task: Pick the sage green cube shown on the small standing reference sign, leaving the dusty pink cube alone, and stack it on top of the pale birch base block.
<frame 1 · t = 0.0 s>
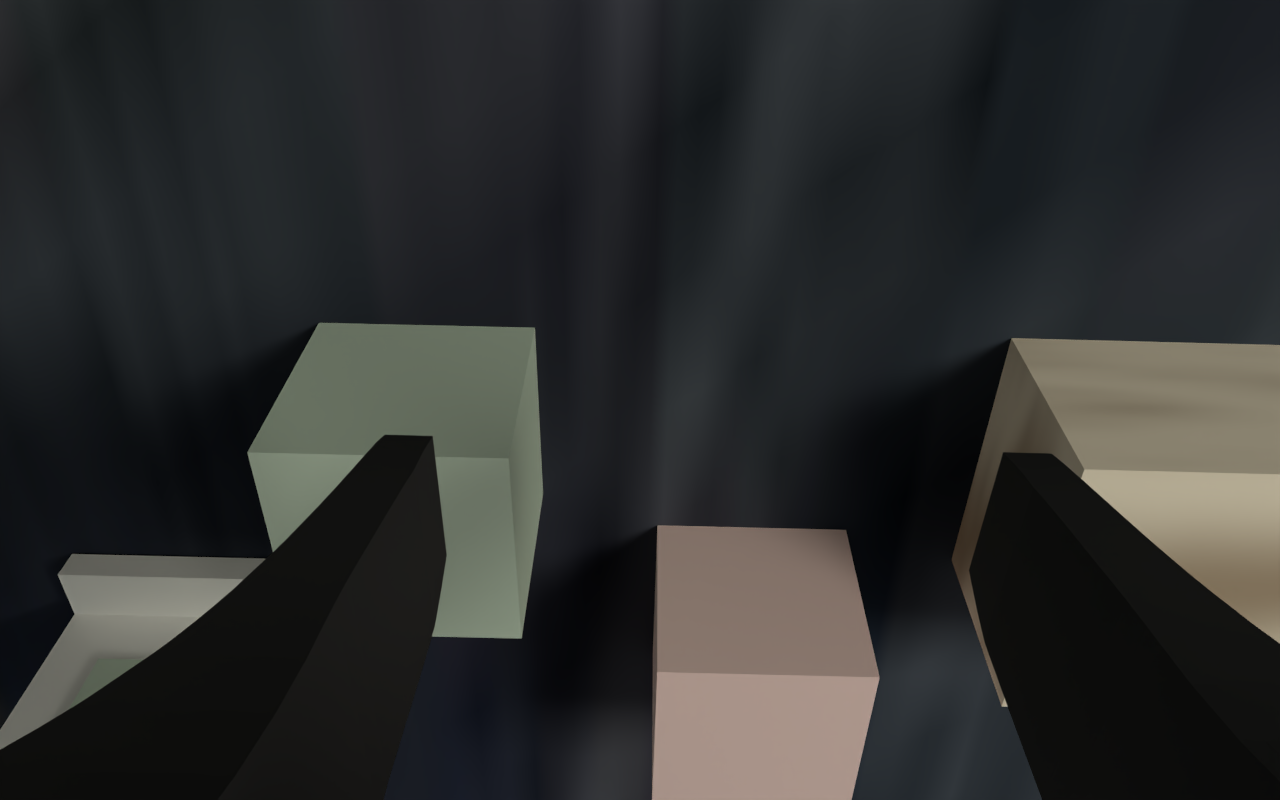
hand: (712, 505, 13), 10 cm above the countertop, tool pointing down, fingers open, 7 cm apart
pink cube: (744, 592, 28), on the countertop
sage cube: (438, 411, 25), on the countertop
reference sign: (215, 608, 29), on the countertop
base block: (1116, 457, 25), on the countertop
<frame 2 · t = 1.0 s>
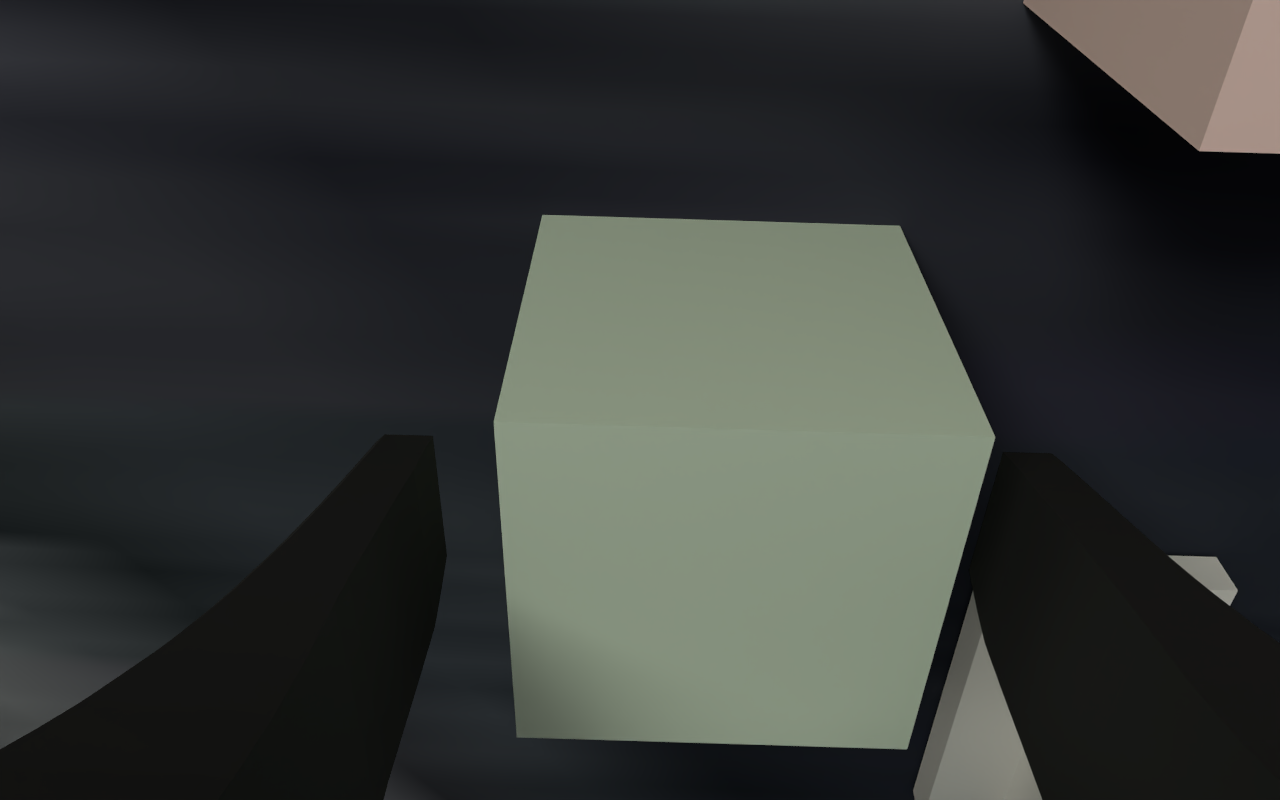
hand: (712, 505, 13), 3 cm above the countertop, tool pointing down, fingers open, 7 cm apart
sage cube: (709, 367, 16), on the countertop
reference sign: (1048, 686, 19), on the countertop
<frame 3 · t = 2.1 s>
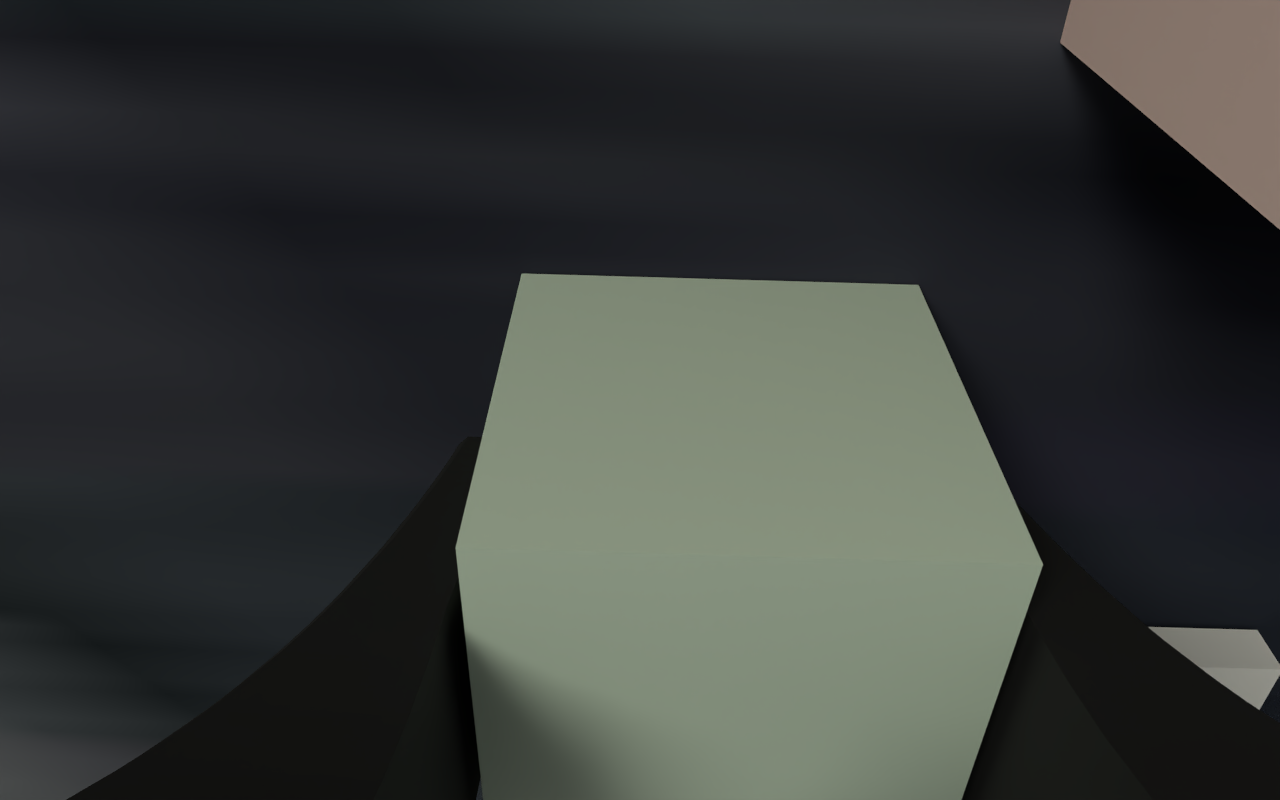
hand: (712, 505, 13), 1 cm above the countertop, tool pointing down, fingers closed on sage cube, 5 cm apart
sage cube: (707, 437, 14), on the countertop, touching gripper
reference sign: (1073, 761, 18), on the countertop
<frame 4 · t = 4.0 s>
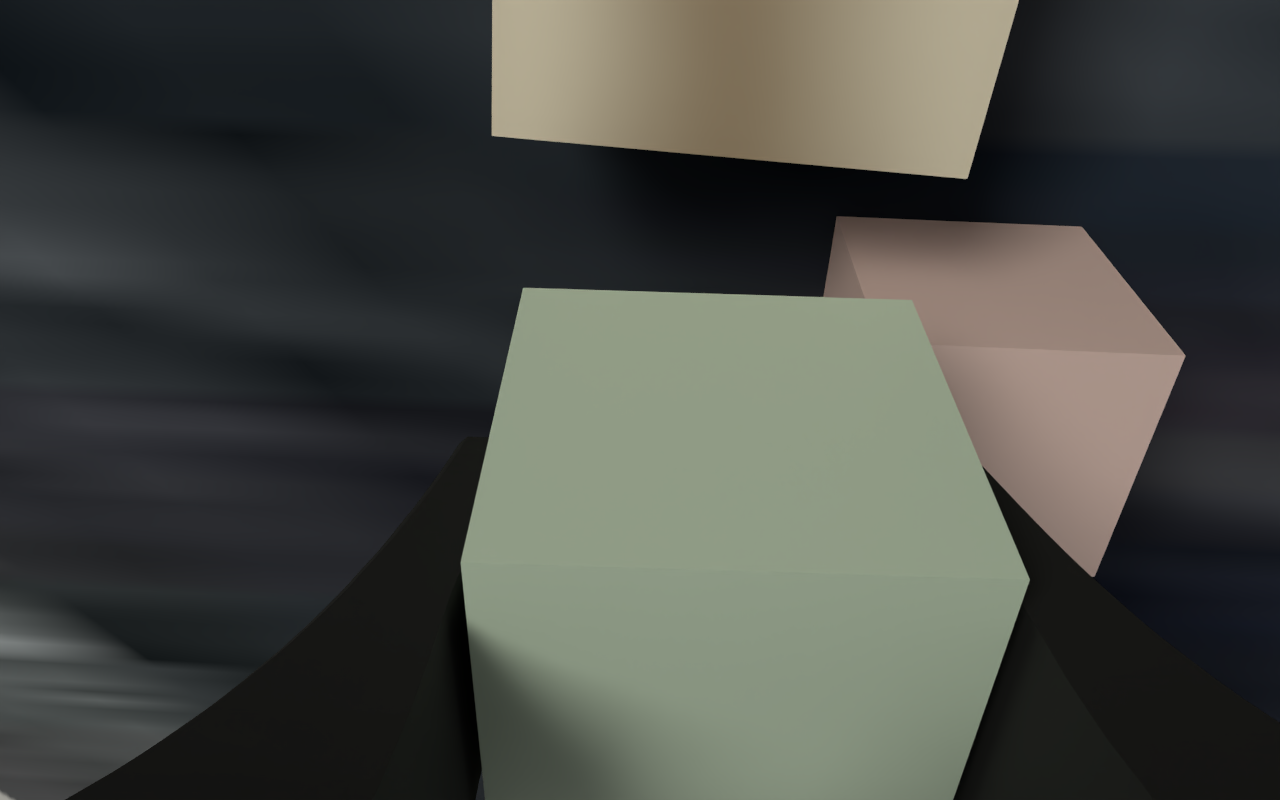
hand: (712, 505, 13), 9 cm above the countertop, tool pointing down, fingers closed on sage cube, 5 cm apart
pink cube: (933, 325, 22), on the countertop
sage cube: (705, 447, 14), point 7 cm above the countertop, touching gripper
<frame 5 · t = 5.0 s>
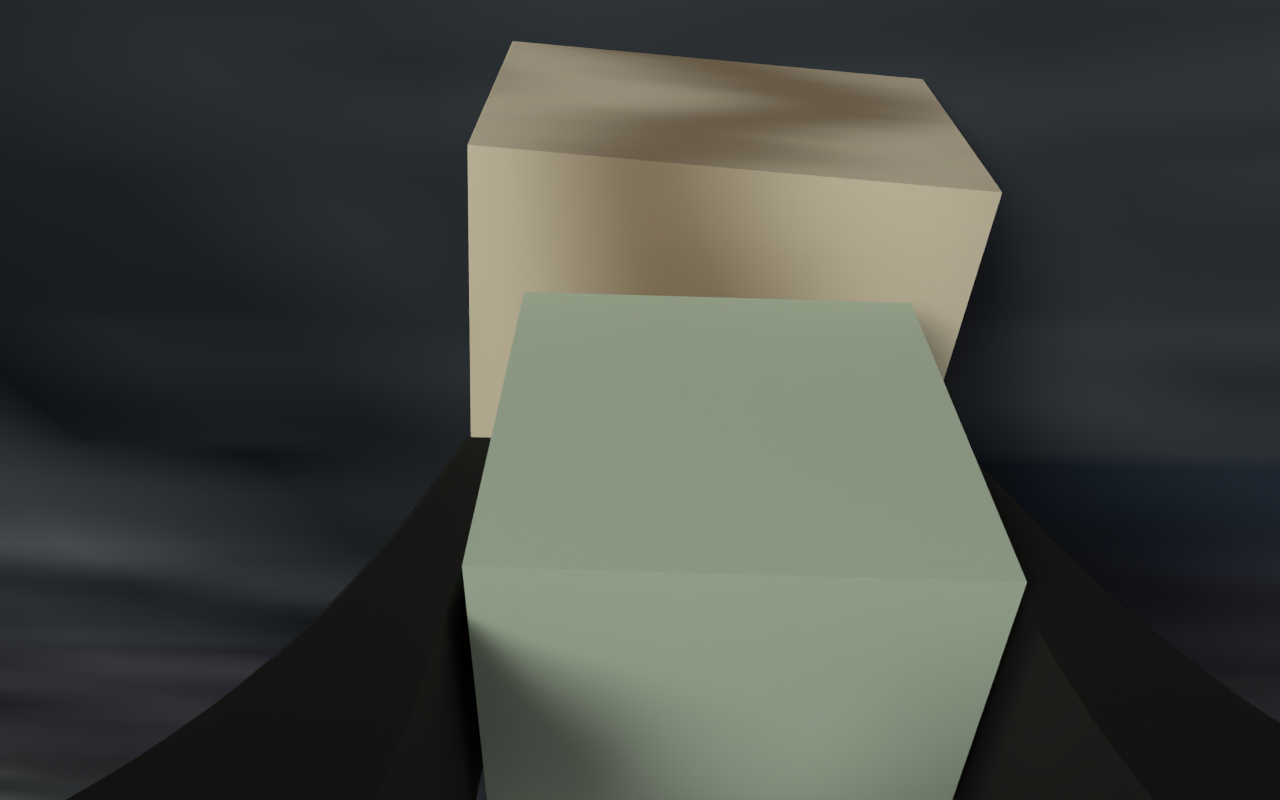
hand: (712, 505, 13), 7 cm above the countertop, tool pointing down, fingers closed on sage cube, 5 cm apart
sage cube: (705, 450, 14), point 6 cm above the countertop, touching gripper
base block: (694, 243, 19), on the countertop
when the fingers open (7 cm above the countertop, at t = 5.7 s): sage cube drops 1 cm, resting on base block.
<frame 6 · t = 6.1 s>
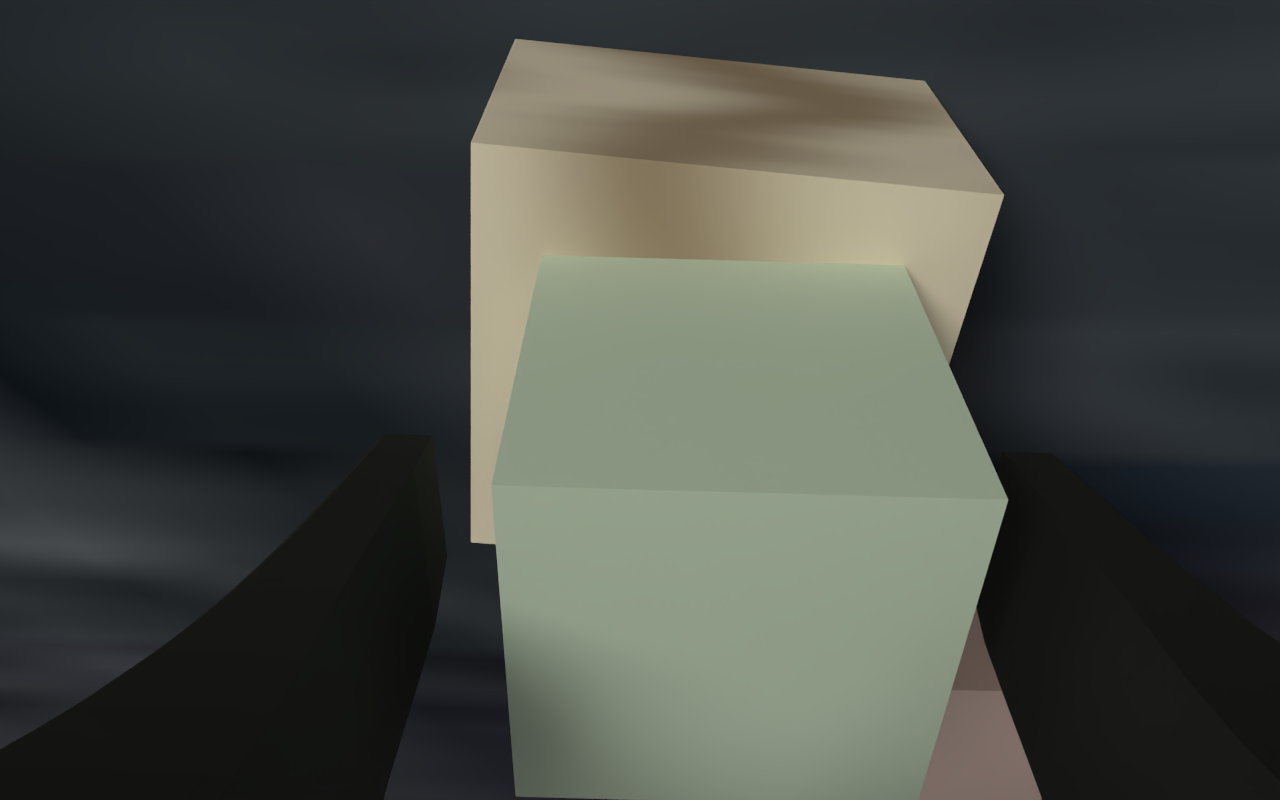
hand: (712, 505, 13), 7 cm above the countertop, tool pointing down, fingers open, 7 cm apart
pink cube: (881, 590, 24), on the countertop
sage cube: (711, 408, 15), point 5 cm above the countertop, touching base block
base block: (695, 242, 19), on the countertop, touching sage cube
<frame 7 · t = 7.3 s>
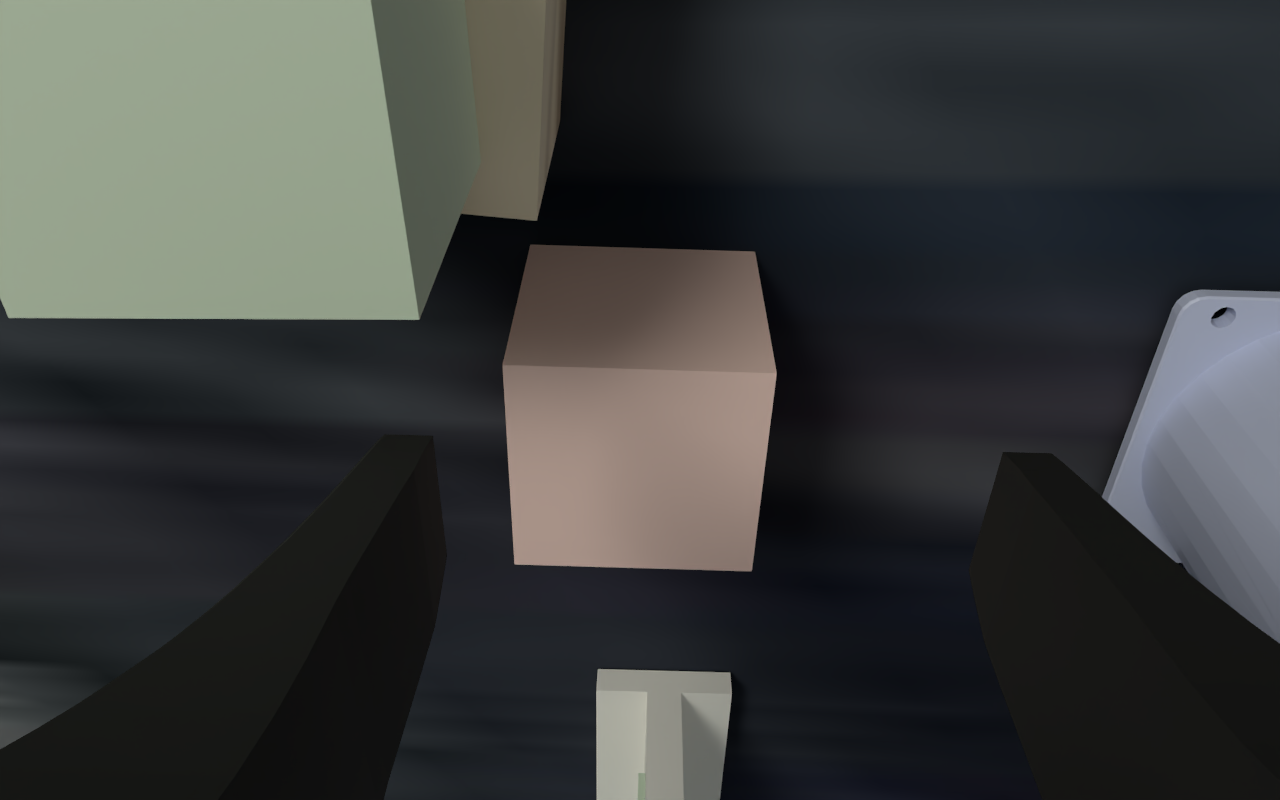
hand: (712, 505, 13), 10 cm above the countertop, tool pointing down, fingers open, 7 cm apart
pink cube: (639, 342, 24), on the countertop
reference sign: (660, 743, 32), on the countertop
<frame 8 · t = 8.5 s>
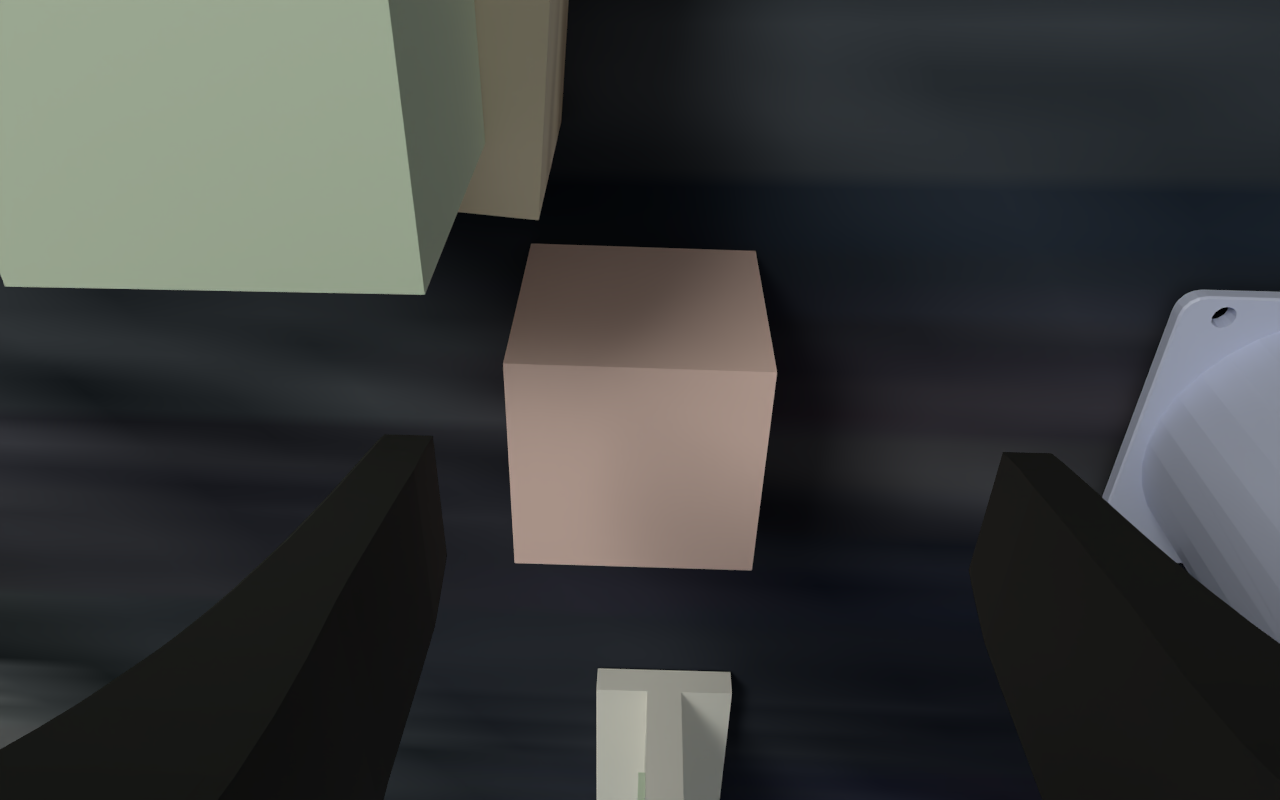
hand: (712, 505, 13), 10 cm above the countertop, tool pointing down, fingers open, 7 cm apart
pink cube: (640, 341, 24), on the countertop
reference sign: (660, 742, 32), on the countertop
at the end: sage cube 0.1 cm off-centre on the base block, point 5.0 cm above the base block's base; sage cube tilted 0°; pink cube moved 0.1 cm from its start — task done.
